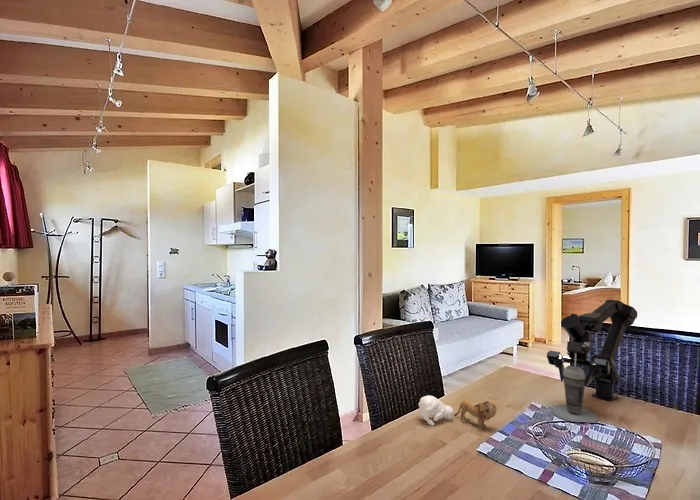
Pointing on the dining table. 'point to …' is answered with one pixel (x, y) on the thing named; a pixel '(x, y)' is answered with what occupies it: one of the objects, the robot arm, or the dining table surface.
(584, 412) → the coaster
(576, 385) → the beverage cup
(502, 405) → the dining table surface
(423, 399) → the white rounded figure
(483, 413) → the lion figurine
